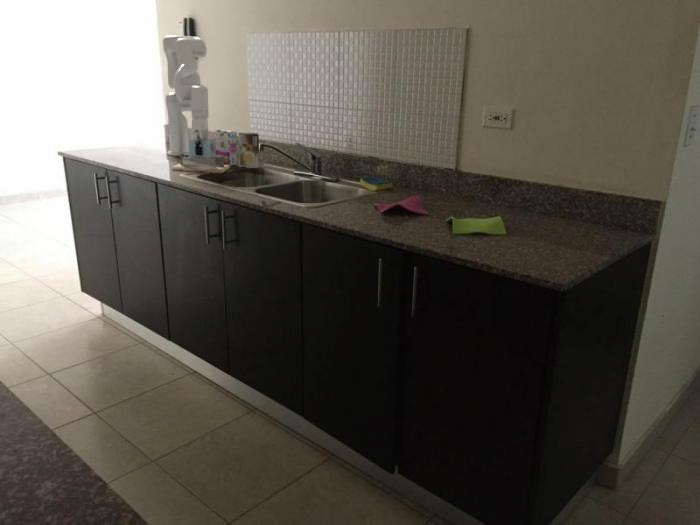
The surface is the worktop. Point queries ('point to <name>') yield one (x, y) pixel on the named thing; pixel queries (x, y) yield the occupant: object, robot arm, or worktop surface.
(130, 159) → the worktop surface
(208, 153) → the door panel
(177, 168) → the clear rectangular tray
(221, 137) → the candy bar box
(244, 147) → the coffee box
